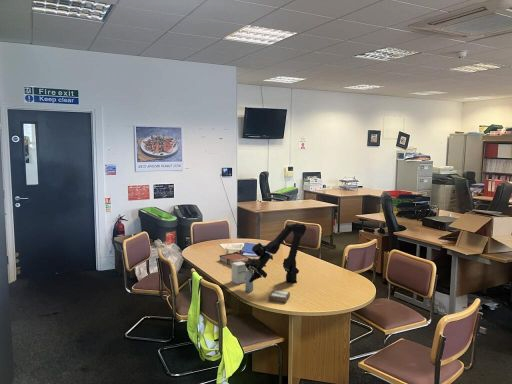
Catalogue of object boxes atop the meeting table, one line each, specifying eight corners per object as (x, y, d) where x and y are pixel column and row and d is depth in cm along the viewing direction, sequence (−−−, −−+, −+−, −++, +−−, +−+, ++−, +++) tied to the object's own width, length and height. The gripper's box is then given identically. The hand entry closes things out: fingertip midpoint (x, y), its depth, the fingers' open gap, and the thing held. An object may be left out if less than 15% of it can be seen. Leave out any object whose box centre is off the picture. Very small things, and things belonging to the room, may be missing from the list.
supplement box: (237, 284, 258) (237, 265, 256) (231, 281, 264) (231, 262, 262) (246, 282, 262) (246, 263, 261) (240, 279, 268) (240, 261, 267)
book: (218, 261, 310) (218, 255, 310) (236, 257, 321) (236, 251, 320) (237, 269, 289) (237, 263, 289) (256, 265, 300) (256, 259, 299)
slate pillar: (252, 289, 249) (253, 270, 248) (253, 292, 244) (253, 272, 243) (245, 289, 249) (245, 270, 248) (245, 292, 244) (245, 272, 243)
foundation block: (273, 294, 240) (273, 289, 240) (289, 296, 237) (289, 291, 237) (269, 300, 231) (269, 295, 231) (285, 303, 228) (286, 297, 228)
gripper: (247, 249, 254) (231, 269, 249) (263, 256, 238) (247, 277, 234) (257, 260, 259) (242, 279, 255) (273, 267, 243) (258, 288, 239)
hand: (247, 280), depth 245 cm, fingers closed on slate pillar, 5 cm apart
